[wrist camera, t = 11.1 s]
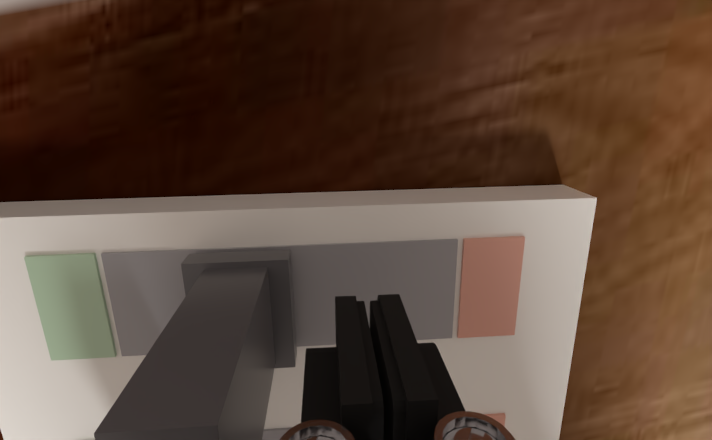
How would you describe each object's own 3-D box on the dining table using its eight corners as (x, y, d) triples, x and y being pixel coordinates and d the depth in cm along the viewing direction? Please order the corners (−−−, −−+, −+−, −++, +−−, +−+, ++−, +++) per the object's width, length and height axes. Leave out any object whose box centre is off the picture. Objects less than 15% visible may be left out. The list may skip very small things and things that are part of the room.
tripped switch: (290, 249, 13) (257, 411, 6) (297, 351, 14) (274, 580, 7) (189, 253, 13) (48, 425, 6) (203, 357, 14) (95, 596, 7)
